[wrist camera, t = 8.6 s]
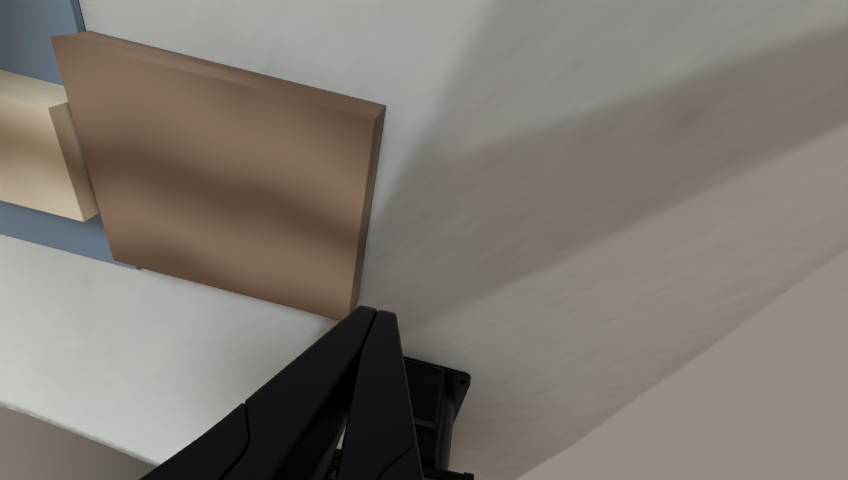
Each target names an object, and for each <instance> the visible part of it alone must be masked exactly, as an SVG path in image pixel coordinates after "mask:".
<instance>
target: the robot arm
mask: <svg viewBox="0 0 848 480" xmlns="http://www.w3.org/2000/svg"><path fill="white" fill-rule="evenodd" d="M470 380H471V377H470V375H469V374H468V373H465V372H461V371H458V370H454V369H450V368H446V367H442V366H439V365H435V364H431V363H427V362H423V361H420V360H416V359H412V358H408V357H404V356H403V353H402V347H401V341H400V335H399V329H398V323H397V317H396V314H395V313H393V312H388V311H384V310H379V311H378V312H377V310H376V309H375V308H371V307H367V306H359V307H357V308H356V309H355V310H354V311H353V312H351V313H350V314H349V315H348V316H347V317H345V318H344V319H343V320H342V321H341V322H339V323H338V324H337V325H336V326H335V327H333V328H332V329H331V330H330V331H328V332H327V333H326V334H325V335H324V336H322V337H321V338H320V339H319V340H318V341H316V342H315V343H314V344H313V345H312V346H310V347H309V348H308V349H307V350H306V351H304V352H303V353H302V354H301V355H300V356H298V357H297V358H296V359H295V360H294V361H292V362H291V363H290V364H289V365H288V366H286V367H285V368H284V369H283V370H282V371H280V372H279V373H278V374H277V375H275V376H274V377H273V378H272V379H271V380H269V381H268V382H267V383H266V384H265V385H263V386H262V387H261V388H260V389H259V390H257V391H256V392H255V393H254V394H253V395H251V396H250V397H249V398H248V399H247V400H246V401H245V404H244V403H242V404H240V405H239V406H238V407H237V408H235V409H234V410H233V411H232V412H231V413H230V414H228V415H227V416H226V417H225V418H223V419H222V420H221V421H220V422H218V423H217V424H216V425H214V426H213V427H212V428H211V429H209V430H208V431H207V432H206V433H204V434H203V435H202V436H200V437H199V438H198V439H196V440H195V441H193V442H192V443H191V444H189V445H188V446H186V447H185V448H184V449H182V450H181V451H179V452H178V453H177V454H175V455H174V456H172V457H171V458H169V459H168V460H166V461H165V462H163V463H162V464H161V465H159V466H158V467H156V468H155V469H153V470H152V471H151V472H149V473H147V474H146V475H144V476H143V477H142V478H140V479H139V480H474V474H471V473H466V472H464V474H462V473H457V472H452V471H448V466H449V456H450V447H451V438H452V429H453V423H454V421H455V419H456V416H457V414H458V412H459V409H460V407H461V405H462V402H463V400H464V397H465V395H466V393H467V390H468V388H469V386H470ZM345 426H346V428H345ZM344 428H345V433H344V438H343V443H342V448H341V449H337V448H336V447H337V445H338V442H339V440H340V438H341V435H342V433H343V431H344Z"/></svg>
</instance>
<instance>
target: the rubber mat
mask: <svg viewBox="0 0 848 480" xmlns="http://www.w3.org/2000/svg"><path fill="white" fill-rule="evenodd" d="M79 32H85V28H84V24H83V19H82V15H81V11H80V7H79V3H78V0H0V70H3V71H7V72H11V73H15V74H19V75H23V76H27V77H31V78H35V79H39V80H43V81H46V82H50V83H54V84H58V85H62V86H64V85H63V81H62V78H61V74H60V71H59V67H58V64H57V60H56V57H55V53H54V50H53V46H52V43H51V39H50V37H53V36H59V35H66V34H72V33H79ZM0 234H3V235H7V236H11V237H14V238H18V239H22V240H26V241H30V242H33V243H37V244H41V245H45V246H49V247H52V248H56V249H60V250H64V251H68V252H72V253H75V254H79V255H83V256H87V257H91V258H94V259H98V260H102V261H106V262H110V263H113V264H117V265H121V266H125V267H129V268H132V269H136V270H137V269H139V268H140V267H136V266H132V265H128V264H124V263H121V262H117V261H114V260H113V256H112V253H111V249H110V246H109V242H108V239H107V235H106V232H105V228H104V225H103V221H102V218H101V214H100V213H98V214H96V215H95V216H93V217H91V218H90V219H88V220H86V221H85V222H82V221H78V220H74V219H71V218H67V217H63V216H59V215H55V214H51V213H48V212H44V211H40V210H36V209H32V208H28V207H25V206H21V205H17V204H13V203H9V202H5V201H2V200H0Z"/></svg>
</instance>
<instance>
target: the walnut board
mask: <svg viewBox="0 0 848 480" xmlns="http://www.w3.org/2000/svg"><path fill="white" fill-rule="evenodd" d="M50 39H51V43H52V46H53V50H54V53H55V57H56V60H57V64H58V67H59V71H60V74H61V78H62V81H63V85H64V88H65V92H66V95H67V99H68V102H69V106H70V109H71V113H72V116H73V120H74V123H75V127H76V130H77V134H78V137H79V141H80V144H81V148H82V151H83V155H84V158H85V162H86V165H87V169H88V172H89V176H90V179H91V183H92V186H93V190H94V193H95V197H96V200H97V204H98V207H99V211H100V214H101V218H102V221H103V225H104V228H105V232H106V235H107V239H108V242H109V246H110V249H111V253H112V256H113V260H114V261H117V262H121V263H124V264H128V265H132V266H136V267H140V268H143V269H147V270H151V271H155V272H159V273H162V274H166V275H170V276H174V277H178V278H182V279H185V280H189V281H193V282H197V283H201V284H204V285H208V286H212V287H216V288H220V289H223V290H227V291H231V292H235V293H239V294H243V295H246V296H250V297H254V298H258V299H262V300H265V301H269V302H273V303H277V304H281V305H284V306H288V307H292V308H296V309H300V310H304V311H307V312H311V313H315V314H319V315H323V316H326V317H330V318H334V319H338V320H343V319H344V318H345V317H347V316H348V315H349V314H350V313H351V312H352V311H353V309H354V306H355V304H356V302H357V299H358V293H359V286H360V280H361V273H362V266H363V259H364V252H365V246H366V239H367V232H368V225H369V219H370V212H371V205H372V198H373V191H374V185H375V178H376V171H377V164H378V157H379V151H380V144H381V137H382V130H383V123H384V117H385V110H386V105H382V104H378V103H374V102H370V101H366V100H362V99H358V98H354V97H350V96H346V95H342V94H338V93H334V92H330V91H326V90H322V89H318V88H314V87H310V86H306V85H302V84H298V83H294V82H290V81H286V80H282V79H278V78H274V77H271V76H267V75H263V74H259V73H255V72H251V71H247V70H243V69H239V68H235V67H231V66H227V65H223V64H219V63H215V62H211V61H207V60H203V59H199V58H195V57H191V56H187V55H183V54H179V53H175V52H171V51H167V50H163V49H159V48H155V47H151V46H147V45H143V44H139V43H135V42H131V41H127V40H123V39H119V38H115V37H111V36H108V35H104V34H100V33H96V32H92V31H85V32H79V33H72V34H66V35H59V36H53V37H50Z"/></svg>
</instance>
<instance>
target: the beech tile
mask: <svg viewBox="0 0 848 480" xmlns="http://www.w3.org/2000/svg"><path fill="white" fill-rule="evenodd" d="M0 200H2V201H5V202H9V203H13V204H17V205H21V206H25V207H28V208H32V209H36V210H40V211H44V212H48V213H51V214H55V215H59V216H63V217H67V218H71V219H74V220H78V221H82V222H85V221H86V220H88V219H90V218H91V217H93V216H95V215H96V214H98V213H100V211H99V207H98V204H97V200H96V197H95V193H94V190H93V186H92V183H91V179H90V176H89V172H88V169H87V165H86V162H85V158H84V155H83V151H82V148H81V144H80V141H79V137H78V134H77V130H76V127H75V123H74V120H73V116H72V113H71V109H70V106H69V102H68V99H67V95H66V92H65V88H64V86H62V85H58V84H54V83H50V82H46V81H43V80H39V79H35V78H31V77H27V76H23V75H19V74H15V73H11V72H7V71H3V70H0Z"/></svg>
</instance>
